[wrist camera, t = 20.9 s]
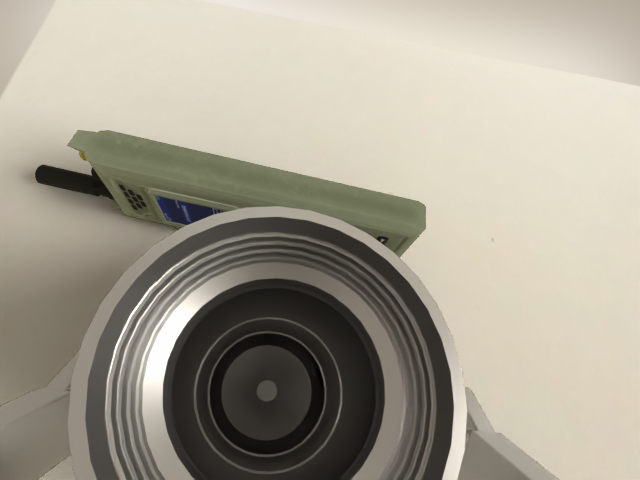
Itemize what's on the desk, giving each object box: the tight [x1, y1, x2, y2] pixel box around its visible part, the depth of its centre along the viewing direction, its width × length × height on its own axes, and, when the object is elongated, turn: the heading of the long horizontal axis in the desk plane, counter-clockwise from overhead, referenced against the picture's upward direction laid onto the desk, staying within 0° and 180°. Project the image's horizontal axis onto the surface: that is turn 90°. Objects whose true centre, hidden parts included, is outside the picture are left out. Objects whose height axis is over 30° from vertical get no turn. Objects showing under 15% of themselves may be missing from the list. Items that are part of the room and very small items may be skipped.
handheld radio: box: [35, 130, 426, 258], centre depth 23 cm, size 7×3×25 cm
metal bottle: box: [68, 206, 467, 480], centre depth 12 cm, size 6×7×20 cm
